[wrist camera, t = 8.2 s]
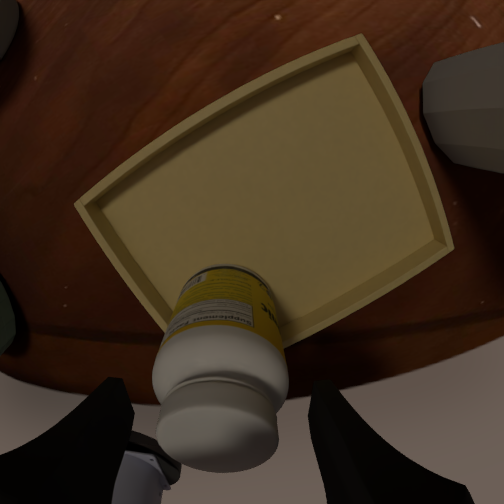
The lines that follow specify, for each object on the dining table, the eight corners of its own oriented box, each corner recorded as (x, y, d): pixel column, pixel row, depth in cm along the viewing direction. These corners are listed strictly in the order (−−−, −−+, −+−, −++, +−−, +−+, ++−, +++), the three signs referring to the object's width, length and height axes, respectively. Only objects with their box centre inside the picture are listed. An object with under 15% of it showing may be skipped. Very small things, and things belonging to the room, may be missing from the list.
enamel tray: (210, 362, 20) (208, 382, 18) (89, 197, 16) (72, 204, 14) (437, 239, 17) (454, 249, 15) (349, 44, 13) (362, 33, 11)
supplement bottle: (270, 343, 18) (288, 481, 9) (183, 339, 18) (149, 474, 9) (277, 261, 17) (313, 392, 7) (178, 258, 17) (114, 381, 7)
